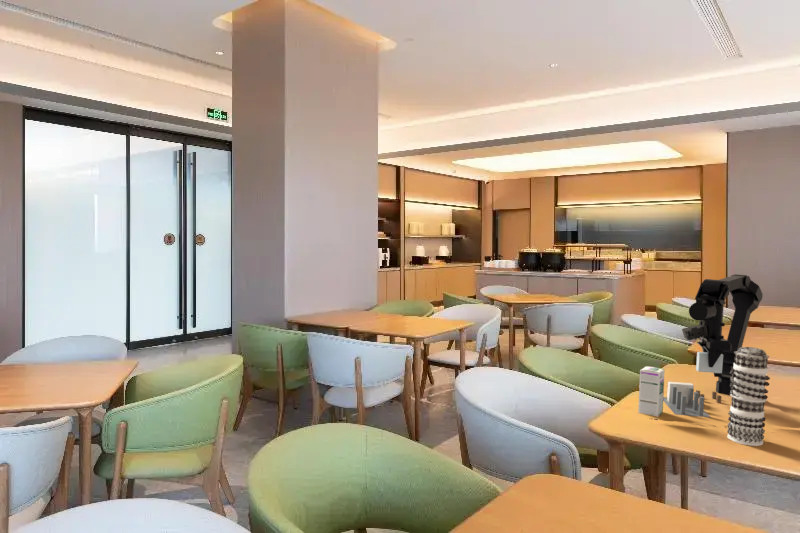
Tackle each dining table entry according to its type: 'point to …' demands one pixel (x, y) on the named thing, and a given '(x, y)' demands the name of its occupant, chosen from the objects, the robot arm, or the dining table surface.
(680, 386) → the white rectangular block
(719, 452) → the dining table surface
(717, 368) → the white long rectangular block
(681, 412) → the rack
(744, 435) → the decorative candle
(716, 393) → the stand
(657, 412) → the syrup box
